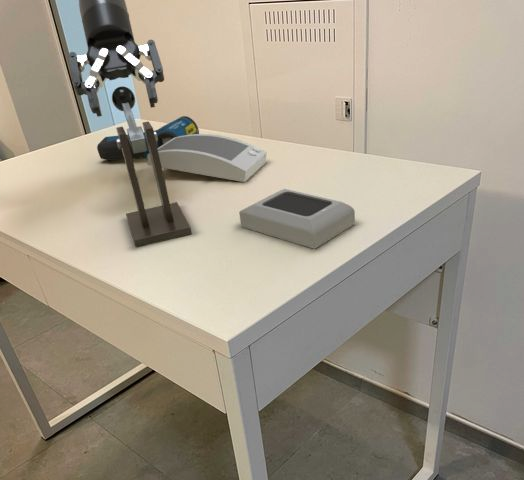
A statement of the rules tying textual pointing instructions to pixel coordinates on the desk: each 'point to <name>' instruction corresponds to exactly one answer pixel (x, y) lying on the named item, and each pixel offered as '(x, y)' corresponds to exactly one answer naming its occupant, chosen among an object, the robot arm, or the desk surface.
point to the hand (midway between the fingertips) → (125, 109)
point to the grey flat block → (298, 217)
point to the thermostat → (211, 156)
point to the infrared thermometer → (166, 133)
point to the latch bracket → (168, 214)
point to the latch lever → (129, 118)
